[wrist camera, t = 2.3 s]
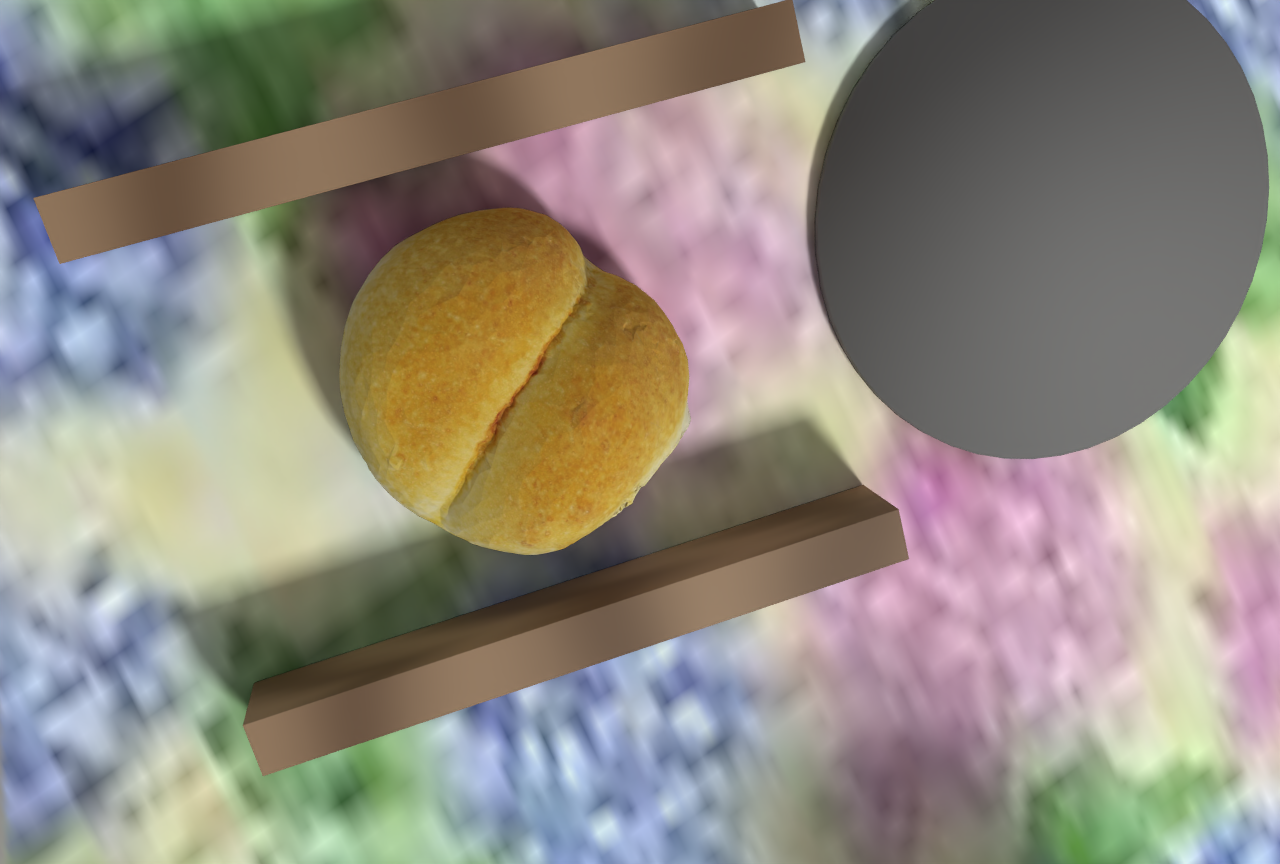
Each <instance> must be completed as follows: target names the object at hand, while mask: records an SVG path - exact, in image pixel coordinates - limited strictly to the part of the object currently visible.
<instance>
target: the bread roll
mask: <svg viewBox="0 0 1280 864" xmlns="http://www.w3.org/2000/svg"><path fill="white" fill-rule="evenodd" d="M339 380H340V394H341V399H342V403H343V408H344V412H345V416H346V419H347V422H348V425H349V428H350V432H351V435H352V438H353V440H354V442H355V444H356V446H357V448H358V450H359V452H360V453H361V455H362V457H363V459H364V460H365V461H366V463H367V465H368V468H369V470H370V471H371V472H372V474H373V475H374V477H375V479H376V480H377V481H378V482H379V483H380V484H381V485H382V487H383V488H384V489H385V490H386V491H387V492H388V493H389V494H390V495H391V496H392V497H393V498H395V499H396V500H397V501H398V502H399V503H401V504H402V505H403V506H404V507H406V508H407V509H409V510H410V511H412V512H413V513H415V514H416V515H418V516H419V517H422V518H424V519H426V520H428V521H430V522H432V523H434V524H436V525H437V526H439V527H441V528H443V529H444V530H446V531H448V532H449V533H451V534H453V535H455V536H457V537H460V538H462V539H464V540H467V541H468V542H470V543H471V544H475V545H478V546H481V547H485V548H489V549H493V550H498V551H503V552H509V553H516V554H522V555H538V554H544V553H549V552H553V551H557V550H561V549H564V548H566V547H568V546H569V545H570V544H573V543H575V542H576V541H578V540H579V539H581V538H582V537H584V536H586V535H588V534H590V533H591V532H592V531H594V530H595V529H597V528H598V527H599V526H601V525H603V523H605V522H606V521H608V520H610V518H612V517H615V516H616V515H617V514H618V513H620V512H621V511H622V510H623V508H625V507H627V506H629V505H631V504H632V503H633V500H634V498H635V496H636V494H637V493H638V491H639V490H640V488H641V487H643V486H645V485H646V484H647V482H648V481H649V480H650V478H651V477H652V476H653V475H654V473H655V472H656V471H657V470H658V468H659V467H660V465H661V464H662V463H663V462H664V460H665V459H666V458H667V457H668V456H669V455H670V454H671V453H672V451H673V450H674V449H675V447H676V446H677V445H678V443H679V441H680V439H681V438H682V437H683V434H684V432H685V431H686V430H687V428H688V426H689V424H690V420H691V418H690V413H689V409H688V403H687V396H688V386H689V369H688V359H687V356H686V353H685V350H684V347H683V344H682V342H681V340H680V339H679V337H678V335H677V333H676V331H675V329H674V327H673V325H672V324H671V322H670V321H669V319H668V318H667V316H666V315H665V313H664V312H663V311H662V309H661V308H660V307H659V306H658V304H657V303H656V302H655V301H654V300H653V299H652V298H651V297H650V296H648V295H647V294H646V293H645V292H643V291H642V290H641V289H640V288H638V287H637V286H636V285H634V284H632V283H630V282H628V281H626V280H624V279H623V278H621V277H619V276H616V275H613V274H610V273H607V272H604V271H603V270H601V269H599V268H598V267H596V266H595V265H594V264H592V263H591V262H590V261H589V260H588V259H586V258H585V257H584V256H583V254H582V251H581V248H580V246H579V245H578V243H577V242H576V240H575V239H574V238H573V237H572V236H571V234H570V233H569V232H568V231H567V230H566V229H565V228H564V227H563V226H562V225H561V224H559V223H558V222H556V221H555V220H553V219H551V218H550V217H548V216H547V215H544V214H541V213H537V212H533V211H530V210H526V209H521V208H497V209H487V210H480V211H474V212H470V213H465V214H461V215H457V216H454V217H451V218H448V219H446V220H443V221H441V222H438V223H436V224H433V225H432V226H430V227H428V228H426V229H424V230H422V231H420V232H418V233H416V234H414V235H412V236H410V237H408V238H407V239H405V240H403V241H402V242H400V243H399V244H397V245H395V246H394V247H393V248H392V249H391V250H390V251H389V252H388V253H387V254H386V255H385V256H384V257H382V258H381V260H380V261H379V262H378V263H377V265H376V266H375V267H374V269H373V270H372V271H371V273H370V274H369V275H368V277H367V278H366V280H365V282H364V284H363V285H362V287H361V288H360V290H359V292H358V294H357V295H356V297H355V299H354V301H353V303H352V306H351V309H350V312H349V315H348V318H347V321H346V324H345V328H344V333H343V339H342V345H341V355H340V367H339Z"/></svg>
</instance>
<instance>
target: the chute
mask: <svg viewBox="0 0 1280 864" xmlns="http://www.w3.org/2000/svg"><path fill="white" fill-rule="evenodd" d="M803 62H805V58H804V53H803V49H802V44H801V39H800V34H799V29H798V25H797V20H796V15H795V10H794V5H793V1H792V0H785V1H782V2H778V3H774V4H770V5H766V6H763V7H759V8H755V9H751V10H747V11H744V12H740V13H736V14H732V15H728V16H725V17H721V18H717V19H713V20H709V21H706V22H702V23H698V24H694V25H690V26H686V27H683V28H679V29H675V30H671V31H667V32H664V33H660V34H656V35H652V36H648V37H645V38H641V39H637V40H633V41H629V42H626V43H622V44H618V45H614V46H610V47H607V48H603V49H599V50H595V51H591V52H587V53H584V54H580V55H576V56H572V57H568V58H565V59H561V60H557V61H553V62H549V63H546V64H542V65H538V66H534V67H530V68H527V69H523V70H519V71H515V72H511V73H508V74H504V75H500V76H496V77H492V78H488V79H485V80H481V81H477V82H473V83H469V84H466V85H462V86H458V87H454V88H450V89H447V90H443V91H439V92H435V93H431V94H428V95H424V96H420V97H416V98H412V99H409V100H405V101H401V102H397V103H393V104H389V105H386V106H382V107H378V108H374V109H370V110H367V111H363V112H359V113H355V114H351V115H348V116H344V117H340V118H336V119H332V120H329V121H325V122H321V123H317V124H313V125H309V126H306V127H302V128H298V129H294V130H290V131H287V132H283V133H279V134H275V135H271V136H268V137H264V138H260V139H256V140H252V141H249V142H245V143H241V144H237V145H233V146H230V147H226V148H222V149H218V150H214V151H210V152H207V153H203V154H199V155H195V156H191V157H188V158H184V159H180V160H176V161H172V162H169V163H165V164H161V165H157V166H153V167H150V168H146V169H142V170H138V171H134V172H131V173H127V174H123V175H119V176H115V177H111V178H108V179H104V180H100V181H96V182H92V183H89V184H85V185H81V186H77V187H73V188H70V189H66V190H62V191H58V192H54V193H51V194H47V195H43V196H39V197H35V198H34V201H35V203H36V206H37V208H38V211H39V213H40V216H41V218H42V221H43V223H44V226H45V228H46V231H47V233H48V236H49V238H50V241H51V243H52V246H53V248H54V251H55V253H56V256H57V259H58V261H59V264H61V263H65V262H68V261H72V260H76V259H79V258H83V257H87V256H91V255H94V254H98V253H102V252H105V251H109V250H113V249H116V248H120V247H124V246H127V245H131V244H135V243H139V242H142V241H146V240H150V239H153V238H157V237H161V236H164V235H168V234H172V233H175V232H179V231H183V230H187V229H190V228H194V227H198V226H201V225H205V224H209V223H212V222H216V221H220V220H223V219H227V218H231V217H235V216H238V215H242V214H246V213H249V212H253V211H257V210H260V209H264V208H268V207H272V206H275V205H279V204H283V203H286V202H290V201H294V200H297V199H301V198H305V197H308V196H312V195H316V194H320V193H323V192H327V191H331V190H334V189H338V188H342V187H345V186H349V185H353V184H356V183H360V182H364V181H368V180H371V179H375V178H379V177H382V176H386V175H390V174H393V173H397V172H401V171H404V170H408V169H412V168H416V167H419V166H423V165H427V164H430V163H434V162H438V161H441V160H445V159H449V158H452V157H456V156H460V155H464V154H467V153H471V152H475V151H478V150H482V149H486V148H489V147H493V146H497V145H500V144H504V143H508V142H512V141H515V140H519V139H523V138H526V137H530V136H534V135H537V134H541V133H545V132H548V131H552V130H556V129H560V128H563V127H567V126H571V125H574V124H578V123H582V122H585V121H589V120H593V119H596V118H600V117H604V116H608V115H611V114H615V113H619V112H622V111H626V110H630V109H633V108H637V107H641V106H644V105H648V104H652V103H656V102H659V101H663V100H667V99H670V98H674V97H678V96H681V95H685V94H689V93H692V92H696V91H700V90H704V89H707V88H711V87H715V86H718V85H722V84H726V83H729V82H733V81H737V80H740V79H744V78H748V77H752V76H755V75H759V74H763V73H766V72H770V71H774V70H777V69H781V68H785V67H788V66H792V65H796V64H800V63H803ZM907 559H909V557H908V552H907V548H906V543H905V538H904V533H903V528H902V524H901V519H900V514H899V509H897V508H896V507H894V506H893V505H891V504H890V503H889V502H887V501H886V500H884V499H883V498H881V497H880V496H878V495H877V494H876V493H874V492H873V491H871V490H870V489H868V488H867V487H865V486H864V485H861V486H858V487H855V488H852V489H849V490H846V491H843V492H840V493H837V494H834V495H831V496H828V497H824V498H821V499H818V500H815V501H812V502H809V503H806V504H803V505H800V506H797V507H794V508H791V509H788V510H784V511H781V512H778V513H775V514H772V515H769V516H766V517H763V518H760V519H757V520H754V521H751V522H748V523H744V524H741V525H738V526H735V527H732V528H729V529H726V530H723V531H720V532H717V533H714V534H711V535H708V536H704V537H701V538H698V539H695V540H692V541H689V542H686V543H683V544H680V545H677V546H674V547H671V548H668V549H665V550H661V551H658V552H655V553H652V554H649V555H646V556H643V557H640V558H637V559H634V560H631V561H628V562H625V563H621V564H618V565H615V566H612V567H609V568H606V569H603V570H600V571H597V572H594V573H591V574H588V575H585V576H581V577H578V578H575V579H572V580H569V581H566V582H563V583H560V584H557V585H554V586H551V587H548V588H545V589H541V590H538V591H535V592H532V593H529V594H526V595H523V596H520V597H517V598H514V599H511V600H508V601H505V602H501V603H498V604H495V605H492V606H489V607H486V608H483V609H480V610H477V611H474V612H471V613H468V614H465V615H461V616H458V617H455V618H452V619H449V620H446V621H443V622H440V623H437V624H434V625H431V626H428V627H425V628H422V629H418V630H415V631H412V632H409V633H406V634H403V635H400V636H397V637H394V638H391V639H388V640H385V641H382V642H378V643H375V644H372V645H369V646H366V647H363V648H360V649H357V650H354V651H351V652H348V653H345V654H342V655H338V656H335V657H332V658H329V659H326V660H323V661H320V662H317V663H314V664H311V665H308V666H305V667H302V668H298V669H295V670H292V671H289V672H286V673H283V674H280V675H277V676H274V677H271V678H268V679H265V680H262V681H258V682H255V683H254V685H253V689H252V692H251V696H250V700H249V704H248V708H247V712H246V715H245V719H244V723H243V727H244V730H245V732H246V735H247V737H248V740H249V742H250V745H251V747H252V750H253V752H254V755H255V757H256V760H257V762H258V765H259V767H260V770H261V772H262V775H263V776H265V775H268V774H271V773H274V772H277V771H280V770H283V769H286V768H289V767H291V766H294V765H297V764H300V763H303V762H306V761H309V760H312V759H315V758H318V757H321V756H324V755H327V754H330V753H333V752H336V751H339V750H342V749H345V748H348V747H351V746H354V745H357V744H360V743H363V742H366V741H369V740H372V739H375V738H378V737H381V736H384V735H387V734H390V733H393V732H396V731H399V730H402V729H405V728H408V727H410V726H413V725H416V724H419V723H422V722H425V721H428V720H431V719H434V718H437V717H440V716H443V715H446V714H449V713H452V712H455V711H458V710H461V709H464V708H467V707H470V706H473V705H476V704H479V703H482V702H485V701H488V700H491V699H494V698H497V697H500V696H503V695H506V694H509V693H512V692H515V691H518V690H521V689H524V688H526V687H529V686H532V685H535V684H538V683H541V682H544V681H547V680H550V679H553V678H556V677H559V676H562V675H565V674H568V673H571V672H574V671H577V670H580V669H583V668H586V667H589V666H592V665H595V664H598V663H601V662H604V661H607V660H610V659H613V658H616V657H619V656H622V655H625V654H628V653H631V652H634V651H637V650H640V649H643V648H645V647H648V646H651V645H654V644H657V643H660V642H663V641H666V640H669V639H672V638H675V637H678V636H681V635H684V634H687V633H690V632H693V631H696V630H699V629H702V628H705V627H708V626H711V625H714V624H717V623H720V622H723V621H726V620H729V619H732V618H735V617H738V616H741V615H744V614H747V613H750V612H753V611H756V610H759V609H761V608H764V607H767V606H770V605H773V604H776V603H779V602H782V601H785V600H788V599H791V598H794V597H797V596H800V595H803V594H806V593H809V592H812V591H815V590H818V589H821V588H824V587H827V586H830V585H833V584H836V583H839V582H842V581H845V580H848V579H851V578H854V577H857V576H860V575H863V574H866V573H869V572H872V571H875V570H878V569H880V568H883V567H886V566H889V565H892V564H895V563H898V562H901V561H904V560H907Z"/></svg>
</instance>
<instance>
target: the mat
mask: <svg viewBox="0 0 1280 864" xmlns="http://www.w3.org/2000/svg"><path fill="white" fill-rule="evenodd" d="M1268 196H1269V175H1268V155H1267V149H1266V143H1265V137H1264V131H1263V125H1262V122H1261V118H1260V115H1259V112H1258V108H1257V105H1256V101H1255V98H1254V95H1253V93H1252V90H1251V88H1250V86H1249V84H1248V81H1247V79H1246V77H1245V74H1244V72H1243V70H1242V68H1241V66H1240V64H1239V63H1238V61H1237V59H1236V58H1235V56H1234V55H1233V53H1232V51H1231V50H1230V48H1229V46H1228V45H1227V43H1226V42H1225V40H1224V39H1223V38H1222V37H1221V35H1220V34H1219V33H1218V32H1217V31H1216V29H1215V28H1214V27H1213V26H1212V25H1211V23H1210V22H1209V21H1208V20H1207V18H1205V17H1204V16H1203V15H1202V14H1201V13H1200V12H1199V11H1198V10H1197V9H1195V8H1194V7H1193V6H1192V5H1191V4H1190V3H1189V2H1188V1H1187V0H935V1H933V2H932V3H930V4H929V5H928V6H926V7H925V8H923V9H922V10H920V11H919V12H918V13H917V14H916V15H915V16H914V17H912V18H911V19H910V20H909V21H908V22H907V23H906V24H905V25H904V26H903V27H901V28H900V29H899V30H898V31H897V32H896V33H895V34H894V35H893V36H892V37H891V38H890V40H889V41H888V42H887V43H886V44H885V46H884V47H883V48H882V49H881V50H880V51H879V53H878V54H877V55H876V56H875V57H874V59H873V60H872V61H871V63H870V64H869V66H868V67H867V69H866V70H865V72H864V73H863V75H862V76H861V78H860V79H859V81H858V82H857V84H856V85H855V87H854V88H853V90H852V92H851V94H850V96H849V98H848V100H847V102H846V104H845V106H844V108H843V110H842V112H841V114H840V116H839V118H838V120H837V123H836V126H835V129H834V132H833V134H832V137H831V140H830V143H829V146H828V149H827V151H826V155H825V159H824V164H823V168H822V173H821V177H820V182H819V186H818V194H817V204H816V215H815V250H816V261H817V268H818V274H819V281H820V288H821V291H822V295H823V298H824V302H825V305H826V309H827V312H828V316H829V319H830V321H831V323H832V326H833V328H834V330H835V333H836V335H837V337H838V340H839V342H840V344H841V347H842V348H843V350H844V352H845V353H846V355H847V357H848V358H849V360H850V361H851V363H852V365H853V366H854V368H855V370H856V371H857V373H858V374H859V375H860V377H861V378H862V379H863V380H864V382H865V383H866V384H867V385H868V386H869V388H870V389H871V390H872V391H873V393H874V394H875V395H876V396H877V397H878V398H879V399H880V400H881V401H882V402H884V403H885V404H886V405H887V406H888V407H889V408H890V409H891V410H892V411H893V412H894V413H895V414H897V415H898V416H899V417H901V418H902V419H904V420H905V421H907V422H908V423H910V424H911V425H913V426H914V427H915V428H917V429H918V430H920V431H922V432H923V433H925V434H928V435H930V436H932V437H934V438H936V439H938V440H940V441H942V442H944V443H946V444H948V445H950V446H953V447H956V448H960V449H963V450H966V451H969V452H972V453H976V454H980V455H987V456H993V457H999V458H1010V459H1036V458H1044V457H1052V456H1061V455H1064V454H1068V453H1072V452H1076V451H1080V450H1084V449H1088V448H1090V447H1093V446H1095V445H1098V444H1100V443H1103V442H1105V441H1108V440H1110V439H1113V438H1115V437H1117V436H1119V435H1121V434H1122V433H1124V432H1126V431H1128V430H1130V429H1131V428H1133V427H1135V426H1137V425H1139V424H1140V423H1142V422H1143V421H1145V420H1146V419H1147V418H1149V417H1150V416H1152V415H1153V414H1154V413H1156V412H1157V411H1158V410H1160V409H1161V408H1163V407H1164V406H1165V405H1166V404H1168V403H1169V402H1170V401H1171V400H1172V399H1173V398H1174V397H1175V396H1176V395H1177V394H1178V393H1180V392H1181V391H1182V390H1183V389H1184V388H1185V387H1186V386H1187V385H1188V384H1189V383H1190V382H1191V381H1192V379H1193V378H1194V377H1195V376H1196V375H1197V374H1198V373H1199V371H1200V370H1201V369H1202V368H1203V367H1204V366H1205V365H1206V363H1207V362H1208V361H1209V359H1210V358H1211V357H1212V355H1213V354H1214V352H1215V351H1216V349H1217V348H1218V347H1219V345H1220V344H1221V342H1222V341H1223V339H1224V338H1225V336H1226V335H1227V333H1228V331H1229V329H1230V327H1231V325H1232V324H1233V322H1234V320H1235V318H1236V316H1237V315H1238V313H1239V311H1240V309H1241V307H1242V304H1243V302H1244V299H1245V297H1246V295H1247V292H1248V290H1249V287H1250V285H1251V283H1252V280H1253V277H1254V273H1255V270H1256V266H1257V263H1258V260H1259V256H1260V253H1261V249H1262V244H1263V238H1264V232H1265V227H1266V221H1267V211H1268Z"/></svg>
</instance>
